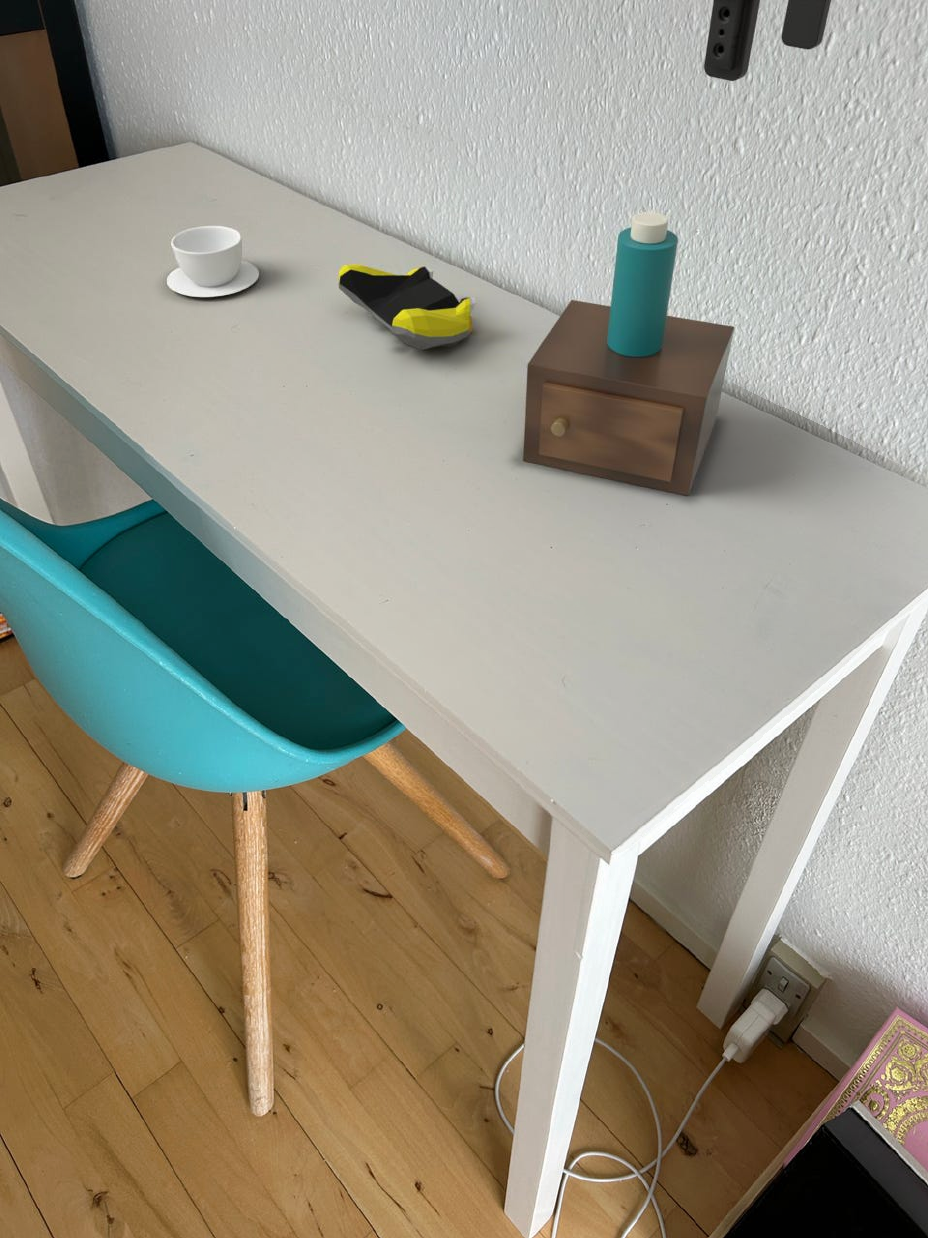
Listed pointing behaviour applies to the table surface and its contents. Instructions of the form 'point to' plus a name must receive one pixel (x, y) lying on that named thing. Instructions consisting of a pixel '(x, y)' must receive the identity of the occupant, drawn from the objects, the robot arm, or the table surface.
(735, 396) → the table surface
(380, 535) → the table surface
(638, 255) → the water bottle
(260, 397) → the table surface
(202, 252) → the teacup
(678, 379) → the storage box
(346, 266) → the multicoloured piece
